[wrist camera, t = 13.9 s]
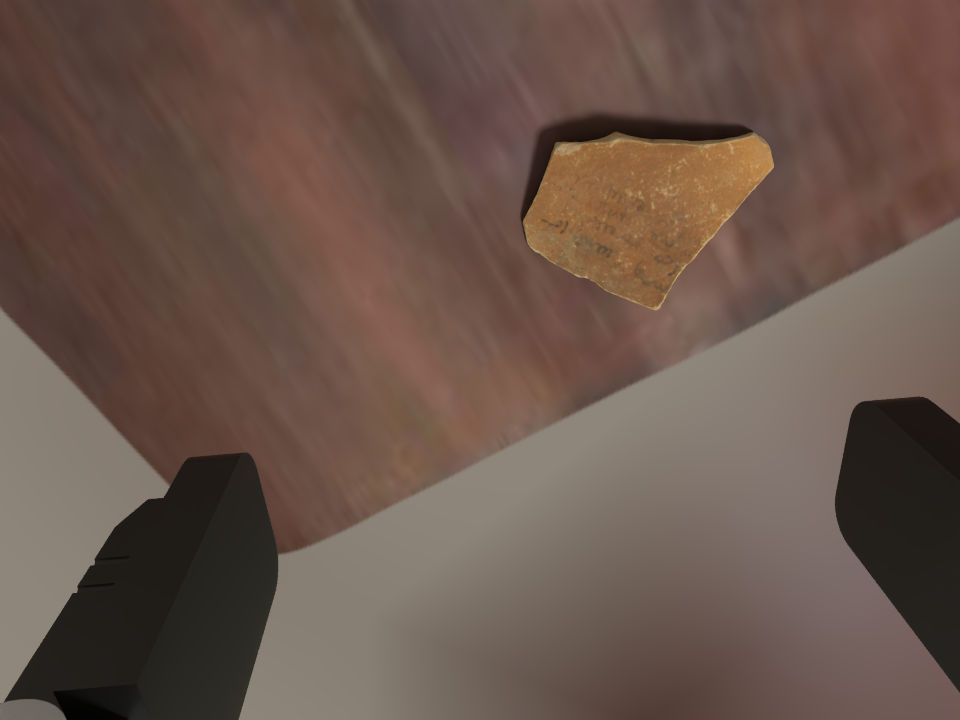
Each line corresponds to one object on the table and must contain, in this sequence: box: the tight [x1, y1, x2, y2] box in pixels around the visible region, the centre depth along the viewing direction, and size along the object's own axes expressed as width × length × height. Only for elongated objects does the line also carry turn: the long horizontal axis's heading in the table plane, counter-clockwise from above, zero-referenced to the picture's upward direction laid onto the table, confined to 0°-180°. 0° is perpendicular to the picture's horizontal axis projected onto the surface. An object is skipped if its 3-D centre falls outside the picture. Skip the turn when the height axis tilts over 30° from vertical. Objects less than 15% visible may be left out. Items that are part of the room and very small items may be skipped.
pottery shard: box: [523, 132, 774, 310], centre depth 34 cm, size 10×9×2 cm
